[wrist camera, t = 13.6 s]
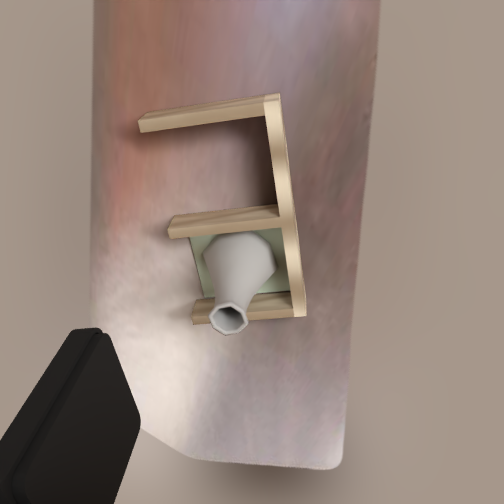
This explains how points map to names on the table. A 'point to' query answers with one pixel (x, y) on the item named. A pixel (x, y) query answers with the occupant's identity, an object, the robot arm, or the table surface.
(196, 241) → the comb rack
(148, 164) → the table surface
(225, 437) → the table surface
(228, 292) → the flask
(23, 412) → the robot arm
